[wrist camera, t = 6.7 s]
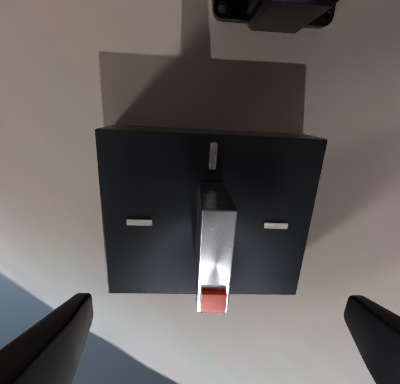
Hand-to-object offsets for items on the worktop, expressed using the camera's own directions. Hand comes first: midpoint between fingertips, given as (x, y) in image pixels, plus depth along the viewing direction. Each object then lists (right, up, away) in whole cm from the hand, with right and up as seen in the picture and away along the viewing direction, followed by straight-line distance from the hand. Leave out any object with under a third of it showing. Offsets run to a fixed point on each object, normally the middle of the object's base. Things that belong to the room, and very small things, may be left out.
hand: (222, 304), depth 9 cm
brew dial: (0, +2, +6) cm, 6 cm away
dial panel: (0, +3, +9) cm, 9 cm away
